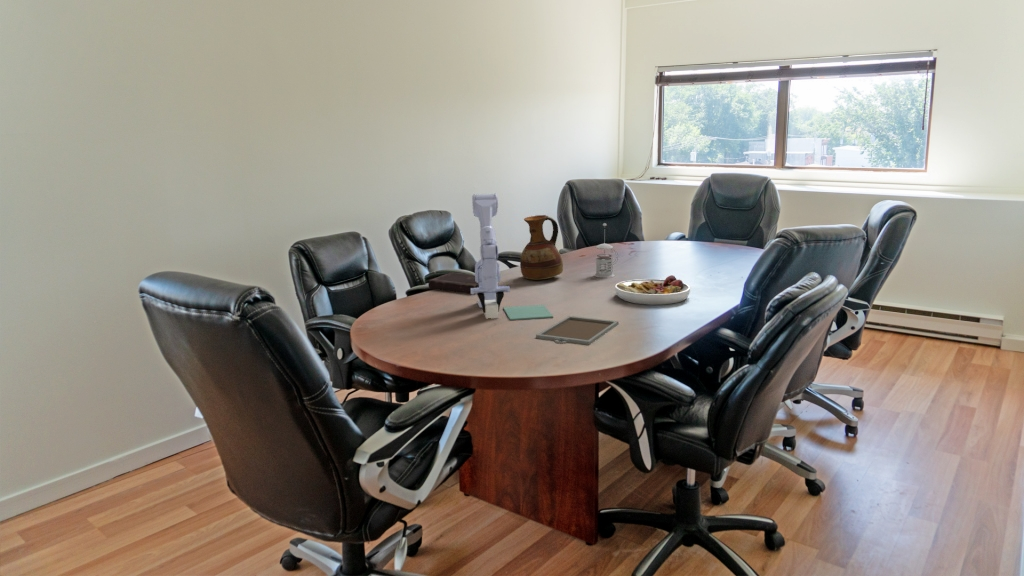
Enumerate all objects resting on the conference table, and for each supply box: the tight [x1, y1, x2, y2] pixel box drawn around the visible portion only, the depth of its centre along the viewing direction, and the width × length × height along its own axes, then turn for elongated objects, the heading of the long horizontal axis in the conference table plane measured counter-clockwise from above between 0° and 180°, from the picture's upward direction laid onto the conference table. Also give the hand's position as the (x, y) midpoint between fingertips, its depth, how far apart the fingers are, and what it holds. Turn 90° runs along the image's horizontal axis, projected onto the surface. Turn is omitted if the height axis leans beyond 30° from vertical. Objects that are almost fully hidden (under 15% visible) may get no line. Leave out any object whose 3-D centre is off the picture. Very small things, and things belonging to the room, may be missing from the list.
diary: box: [427, 272, 479, 295], centre depth 307 cm, size 19×25×5 cm
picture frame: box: [535, 315, 619, 346], centre depth 234 cm, size 19×2×30 cm
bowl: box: [614, 275, 691, 306], centre depth 280 cm, size 30×30×8 cm
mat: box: [503, 304, 554, 321], centre depth 260 cm, size 18×16×1 cm
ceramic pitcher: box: [519, 214, 564, 281], centre depth 321 cm, size 20×20×30 cm
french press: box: [593, 222, 619, 279], centre depth 325 cm, size 10×12×25 cm
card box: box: [483, 300, 499, 320], centre depth 258 cm, size 9×4×5 cm, turn 9°
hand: (490, 311), depth 258 cm, fingers closed on card box, 4 cm apart
